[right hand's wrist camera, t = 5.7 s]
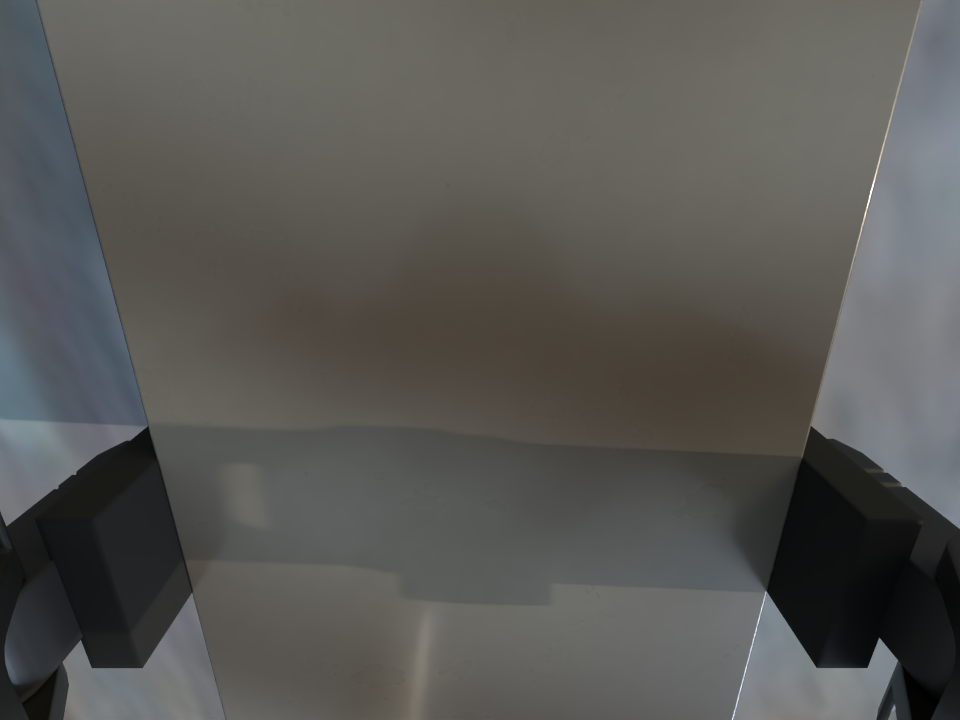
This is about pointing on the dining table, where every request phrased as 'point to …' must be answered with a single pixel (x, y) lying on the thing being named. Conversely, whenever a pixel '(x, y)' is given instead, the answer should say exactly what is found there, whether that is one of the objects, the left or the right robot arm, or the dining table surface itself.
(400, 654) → the cabinet
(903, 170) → the dining table surface
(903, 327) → the dining table surface
